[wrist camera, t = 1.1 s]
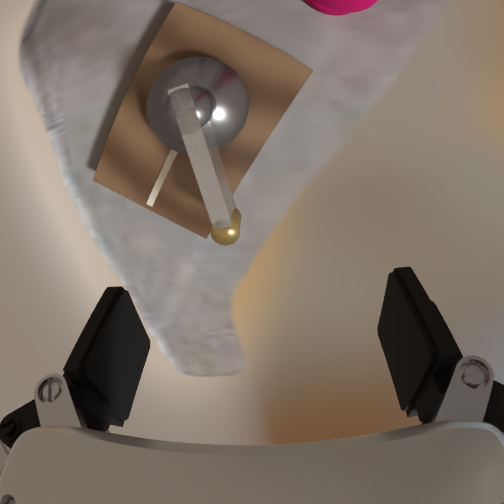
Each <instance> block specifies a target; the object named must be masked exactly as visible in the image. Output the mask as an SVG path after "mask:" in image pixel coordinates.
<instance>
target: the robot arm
mask: <svg viewBox="0 0 504 504" xmlns="http://www.w3.org/2000/svg"><path fill="white" fill-rule="evenodd" d="M378 336H379V339H380V342H381V345H382V348H383V351H384V354H385V357H386V361H387V364H388V367H389V370H390V373H391V377H392V380H393V383H394V386H395V390H396V393H397V397H398V400H399V404H400V407H401V409H402V410H403V411H404V410H406V413H407V417H412V416H416V415H418V417H419V420H420V421H421V423H420V425H416V426H411V427H406V428H402V429H397V430H392V431H387V432H381V433H376V434H370V435H364V436H357V437H351V438H344V439H336V440H328V441H319V442H308V443H295V444H278V445H211V444H194V443H181V442H169V441H160V440H153V439H145V438H138V437H132V436H125V435H118V434H113V433H110V432H109V430H108V429H109V425H115V426H121V427H123V424H124V421H125V420H127V419H128V417H129V414H130V411H131V408H132V404H133V401H134V397H135V394H136V391H137V387H138V384H139V381H140V378H141V374H142V371H143V368H144V365H145V362H146V358H147V356H148V352H149V349H150V340H149V337H148V335H147V333H146V331H145V329H144V326H143V324H142V322H141V320H140V318H139V315H138V313H137V311H136V309H135V306H134V304H133V302H132V299H131V297H130V294H129V292H128V291H127V290H124V288H123V287H121V286H120V287H107V289H106V290H105V291H104V293H103V295H102V297H101V298H100V300H99V302H98V304H97V305H96V307H95V309H94V311H93V313H92V314H91V316H90V318H89V320H88V322H87V324H86V325H85V327H84V329H83V331H82V333H81V335H80V337H79V339H78V341H77V343H76V344H75V347H74V348H73V350H72V352H71V354H70V356H69V358H68V360H67V362H66V364H65V366H64V369H63V371H64V372H65V373H64V375H63V376H62V375H60V374H57V373H54V374H49V375H47V376H45V377H44V378H42V379H41V380H40V381H39V382H38V384H37V386H36V388H35V392H34V394H35V395H34V396H35V399H34V400H32V401H30V402H29V403H27V404H25V405H23V406H22V407H20V408H18V409H17V410H15V411H13V412H12V413H10V414H8V415H7V416H6V417H4V418H3V420H2V421H1V423H0V504H504V385H503V384H501V383H499V382H497V381H494V374H493V370H492V368H491V367H490V365H489V364H488V362H486V361H485V360H484V359H482V358H480V357H477V356H466V357H463V356H462V354H461V352H460V350H459V348H458V346H457V344H456V342H455V340H454V338H453V336H452V334H451V332H450V330H449V328H448V326H447V324H446V323H445V321H444V320H443V317H442V315H441V313H440V312H439V310H438V308H437V306H436V305H435V303H434V302H433V301H431V300H430V299H429V297H428V295H427V293H426V292H425V290H424V288H423V286H422V285H421V283H420V282H419V280H418V278H417V276H416V275H415V273H414V272H413V270H412V269H411V267H401V268H395V269H394V271H393V272H392V273H389V276H388V281H387V286H386V291H385V296H384V301H383V306H382V310H381V315H380V319H379V324H378Z"/></svg>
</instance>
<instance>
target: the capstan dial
mask: <svg viewBox="0 0 504 504" xmlns="http://www.w3.org/2000/svg"><path fill="white" fill-rule="evenodd" d="M248 111H249V96H248V91H247V88H246V85H245V84H244V82H243V80H242V78H241V77H240V76H239V74H238V73H237V72H236V71H235V70H234V69H232V68H231V67H230V66H228V65H227V64H225V63H223V62H221V61H218V60H216V59H213V58H209V57H189V58H185V59H181V60H179V61H177V62H174V63H173V64H171V65H169V66H168V67H167V68H165V69H164V70H163V71H162V72H161V73H160V74H159V75H158V76H157V78H156V79H155V80H154V82H153V84H152V85H151V88H150V90H149V93H148V97H147V103H146V112H147V118H148V122H149V124H150V127H151V129H152V131H153V132H154V134H155V135H156V137H157V138H158V139H159V140H160V141H161V142H162V143H163V144H164V145H166V146H167V147H169V148H170V149H172V150H174V151H176V152H179V153H182V154H186V155H188V156H189V159H190V162H191V165H192V168H193V171H194V174H195V177H196V179H197V182H198V185H199V188H200V191H201V194H202V197H203V200H204V203H205V206H206V209H207V211H208V214H209V217H210V220H211V223H212V227H211V236H212V238H213V240H214V241H215V242H217V243H218V244H221V245H230V244H233V243H234V242H236V240H237V239H238V237H239V231H240V224H241V214H240V212H239V210H238V209H237V208H236V205H235V202H234V199H233V195H232V192H231V189H230V185H229V182H228V179H227V176H226V172H225V169H224V166H223V162H222V159H221V156H220V153H219V150H221V149H223V148H224V147H226V146H227V145H229V144H230V143H231V142H232V141H233V140H234V139H235V138H236V137H237V136H238V135H239V133H240V132H241V130H242V128H243V126H244V124H245V122H246V119H247V116H248Z"/></svg>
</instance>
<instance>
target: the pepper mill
mask: <svg viewBox="0 0 504 504" xmlns="http://www.w3.org/2000/svg"><path fill="white" fill-rule="evenodd" d="M305 1H306V2H307V3H308V4H309V5H310V6H311V7H312V8H314V9H316V10H317V11H319V12H322V13H325V14H329V15H345V14H348V13H351V12H358V11H362V10H365V9H367V8H369V7H371V6H372V5H373V4H375V3H376V2H377V1H378V0H305Z"/></svg>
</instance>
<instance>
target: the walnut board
mask: <svg viewBox="0 0 504 504" xmlns="http://www.w3.org/2000/svg"><path fill="white" fill-rule="evenodd" d="M189 57H209V58H213V59H216V60H218V61H221V62H223V63H225V64H227V65H228V66H230V67H231V68H232V69H234V70H235V71H236V72H237V73H238V74H239V76H240V77H241V78H242V80H243V82H244V84H245V85H246V88H247V91H248V96H249V111H248V116H247V119H246V122H245V124H244V126H243V128H242V130H241V132H240V133H239V135H238V136H237V137H236V138H235V139H234V140H233V141H232V142H231V143H230V144H229V145H227V146H226V147H224V148H223V149H221V150H219V153H220V156H221V159H222V162H223V166H224V169H225V172H226V176H227V179H228V182H229V185H230V189H231V192H232V195H233V193H234V192H235V190H236V188H237V187H238V185H239V184H240V182H241V180H242V179H243V177H244V176H245V174H246V172H247V171H248V169H249V168H250V166H251V164H252V163H253V161H254V160H255V158H256V156H257V155H258V153H259V152H260V150H261V149H262V147H263V145H264V144H265V142H266V141H267V139H268V138H269V136H270V135H271V133H272V131H273V130H274V128H275V127H276V125H277V124H278V122H279V121H280V119H281V118H282V116H283V115H284V113H285V112H286V110H287V109H288V107H289V106H290V104H291V103H292V101H293V100H294V98H295V97H296V95H297V94H298V92H299V91H300V89H301V88H302V86H303V85H304V83H305V82H306V80H307V79H308V78H309V76H310V75H311V73H312V72H313V70H312V69H310V68H309V67H307V66H306V65H304V64H302V63H301V62H299V61H297V60H296V59H294V58H292V57H291V56H289V55H287V54H286V53H284V52H282V51H280V50H279V49H277V48H275V47H273V46H271V45H270V44H268V43H266V42H264V41H262V40H260V39H258V38H257V37H255V36H253V35H251V34H249V33H247V32H245V31H243V30H241V29H239V28H236V27H234V26H232V25H230V24H228V23H226V22H224V21H221V20H219V19H217V18H215V17H212V16H210V15H208V14H205V13H203V12H200V11H198V10H195V9H193V8H190V7H188V6H185V5H182V4H180V3H177V2H176V3H175V5H174V6H173V8H172V10H171V11H170V13H169V14H168V16H167V18H166V19H165V21H164V23H163V24H162V26H161V28H160V29H159V31H158V33H157V34H156V36H155V38H154V40H153V42H152V43H151V45H150V47H149V49H148V51H147V53H146V54H145V56H144V58H143V60H142V62H141V64H140V66H139V68H138V70H137V72H136V74H135V76H134V78H133V80H132V82H131V84H130V87H129V89H128V91H127V93H126V95H125V97H124V100H123V102H122V104H121V106H120V109H119V111H118V114H117V116H116V118H115V121H114V123H113V126H112V128H111V131H110V133H109V136H108V139H107V141H106V144H105V147H104V149H103V152H102V155H101V158H100V161H99V163H98V166H97V169H96V172H95V176H94V179H93V181H95V182H97V183H99V184H101V185H103V186H105V187H107V188H109V189H110V190H112V191H114V192H116V193H118V194H120V195H122V196H124V197H126V198H128V199H130V200H132V201H134V202H136V203H137V204H139V205H141V206H143V207H144V208H146V209H147V210H149V211H151V212H152V211H153V212H155V213H157V214H159V215H161V216H163V217H165V218H167V219H169V220H170V221H172V222H174V223H176V224H178V225H180V226H182V227H184V228H186V229H188V230H190V231H192V232H194V233H196V234H198V235H200V236H202V237H204V238H207V237H208V235H209V233H210V232H211V227H212V223H211V220H210V217H209V214H208V211H207V209H206V206H205V203H204V200H203V197H202V194H201V191H200V188H199V185H198V182H197V179H196V177H195V174H194V171H193V168H192V165H191V162H190V159H189V156H188V155H186V154H182V153H179V152H176V151H174V150H172V149H170V148H169V147H167V146H166V145H164V144H163V143H162V142H161V141H160V140H159V139H158V138H157V137H156V135H155V134H154V132H153V131H152V129H151V127H150V124H149V122H148V118H147V112H146V103H147V97H148V93H149V90H150V88H151V85H152V84H153V82H154V80H155V79H156V78H157V76H158V75H159V74H160V73H161V72H162V71H163V70H164V69H165V68H167V67H168V66H169V65H171V64H173V63H174V62H177V61H179V60H181V59H185V58H189Z"/></svg>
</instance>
